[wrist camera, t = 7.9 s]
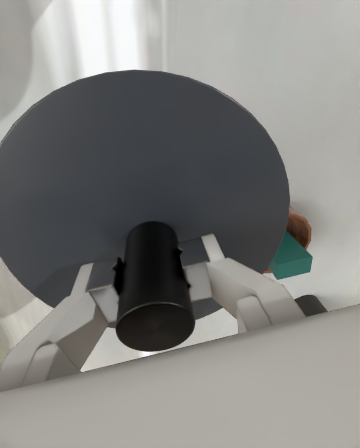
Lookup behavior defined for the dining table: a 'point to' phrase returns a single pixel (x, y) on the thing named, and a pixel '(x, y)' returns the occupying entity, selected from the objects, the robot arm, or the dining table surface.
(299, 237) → the bowl
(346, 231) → the dining table surface
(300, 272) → the block
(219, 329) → the dining table surface
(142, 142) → the lid
